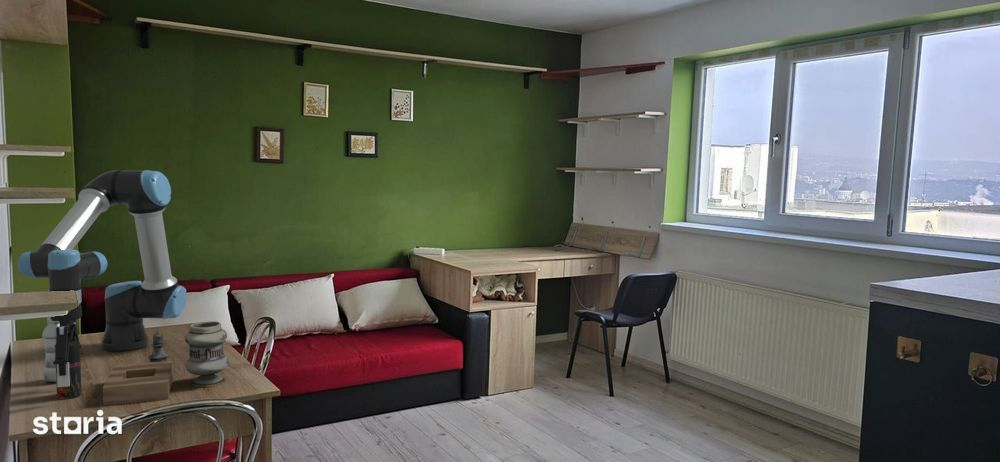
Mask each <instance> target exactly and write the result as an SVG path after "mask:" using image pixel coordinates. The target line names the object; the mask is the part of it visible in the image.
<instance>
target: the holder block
mask: <svg viewBox="0 0 1000 462" xmlns="http://www.w3.org/2000/svg"><path fill="white" fill-rule="evenodd" d="M173 379H174V362H173V360H166V361H164V362H152V363H151V362H141V363H129V364H116V365H113V367H112V369H111V370H110V373H109V375H108V376H107V379H106V380H105V383H104V384H103V386H102V405H103V406H113V405H121V404H124V405H125V404H132V403H142V402H152V401H162V400H163V401H164V400H169V397H170V392H171V389H172V384H173Z"/></svg>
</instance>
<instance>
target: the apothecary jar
mask: <svg viewBox="0 0 1000 462" xmlns="http://www.w3.org/2000/svg"><path fill="white" fill-rule="evenodd" d="M227 339H228V333H227V331H226V330H225V329H223V327H222V324H221V322H220V321H214V320H210V321H209V320H208V321H199V322H195V323H192V324H191V325H190V329H189V331H188V332H187V333H186V335H185V336H184V341H185V343H187V344H188V346H189V359H187V361H186V362H185V369H186V371H188V372H189V373H190V374H192V375H195V376H197V377H195V378H194V377H193V378H192V379H191V380H190V381H189V384H190V385H192V386H193V387H195V388H196V387H197V388H198V387H199V388H205V387H208V388H209V387H214V386H218V384H219V385H221V384H222V383H223V384H224V382H225V381H226V378H225V377H224V376H222V375H218V374H220V373H221V372H222V371H224V370H225V369H226V368H227V367H229V366H228V365H229V364H230V363H229V362H230V361H229V358H228V357H227V355H225V354H224V353H225V351H224V350H225V349H224V342H225V341H226V340H227Z"/></svg>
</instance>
